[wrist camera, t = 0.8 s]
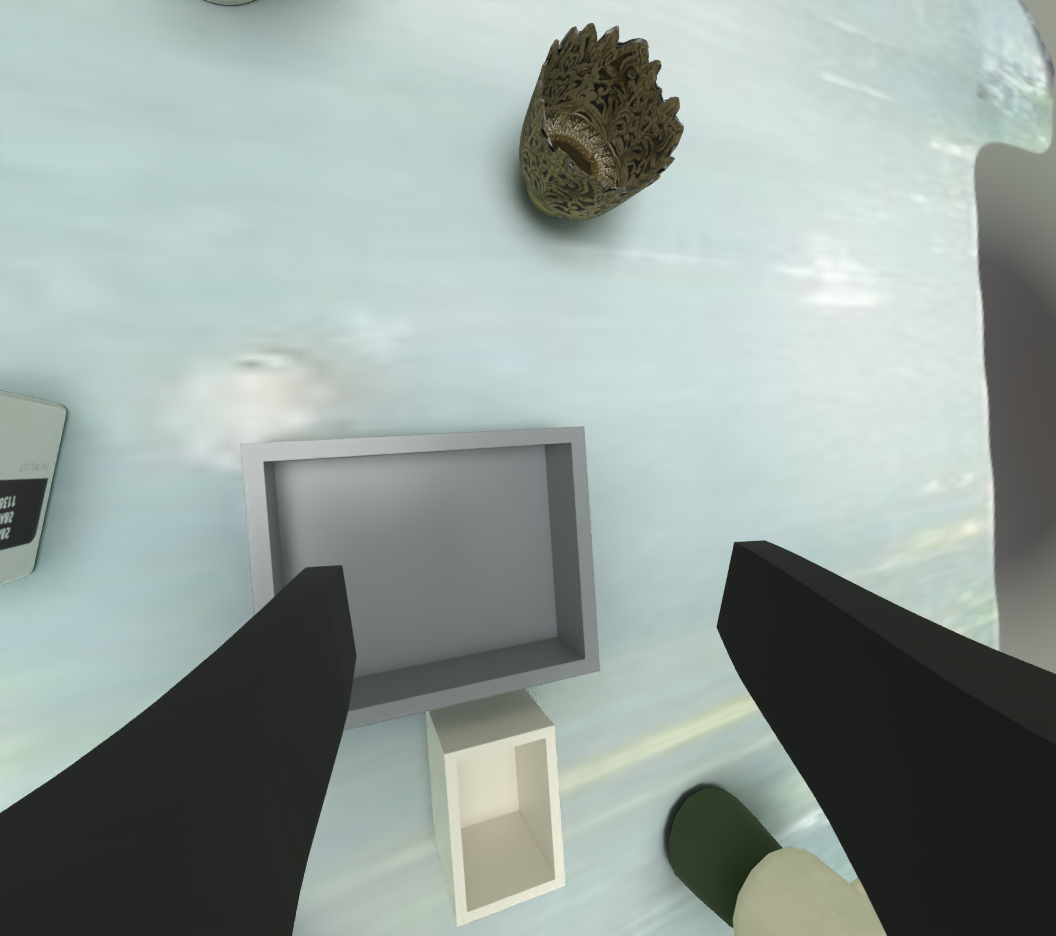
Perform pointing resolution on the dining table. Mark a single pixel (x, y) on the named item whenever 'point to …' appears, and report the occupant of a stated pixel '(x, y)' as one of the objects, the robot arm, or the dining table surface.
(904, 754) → the robot arm
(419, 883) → the dining table surface
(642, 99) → the cup
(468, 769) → the cream crate
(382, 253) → the dining table surface
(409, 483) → the grey crate
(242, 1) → the coffee cup
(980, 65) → the dining table surface
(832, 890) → the character mug
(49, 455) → the container
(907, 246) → the dining table surface
